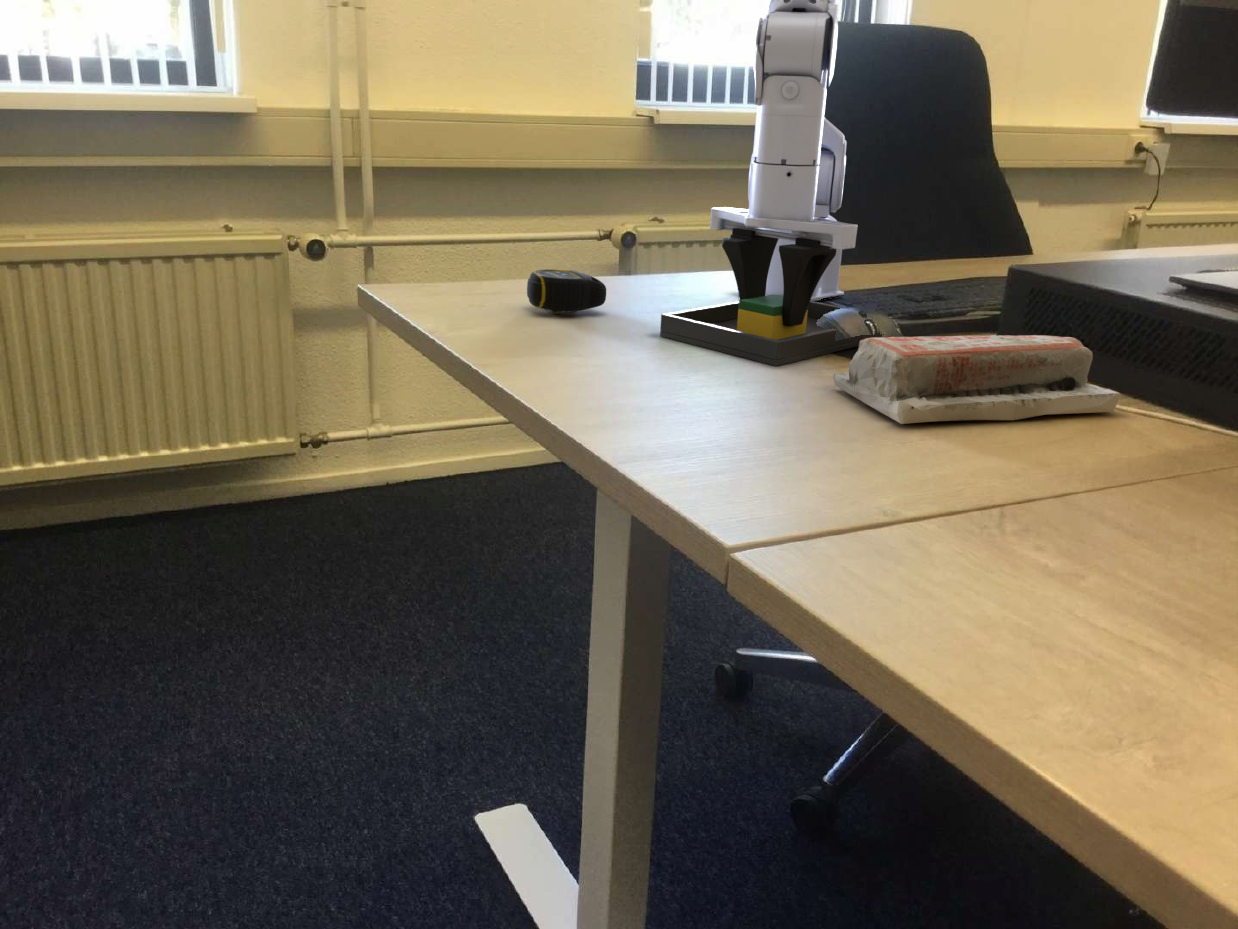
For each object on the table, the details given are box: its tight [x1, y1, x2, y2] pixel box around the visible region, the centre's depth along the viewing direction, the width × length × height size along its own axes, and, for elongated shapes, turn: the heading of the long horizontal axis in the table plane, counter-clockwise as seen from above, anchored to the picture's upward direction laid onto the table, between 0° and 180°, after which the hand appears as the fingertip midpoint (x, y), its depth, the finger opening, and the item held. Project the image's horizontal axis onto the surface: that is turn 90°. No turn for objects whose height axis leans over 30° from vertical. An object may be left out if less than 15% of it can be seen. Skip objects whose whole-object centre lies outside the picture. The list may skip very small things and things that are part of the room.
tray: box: [659, 295, 894, 367], centre depth 95 cm, size 17×13×2 cm
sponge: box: [737, 294, 808, 340], centre depth 94 cm, size 5×4×3 cm
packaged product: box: [832, 334, 1122, 425], centre depth 76 cm, size 18×5×10 cm
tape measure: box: [526, 268, 607, 315], centre depth 102 cm, size 7×7×4 cm
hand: (771, 320), depth 94 cm, fingers closed on sponge, 4 cm apart
